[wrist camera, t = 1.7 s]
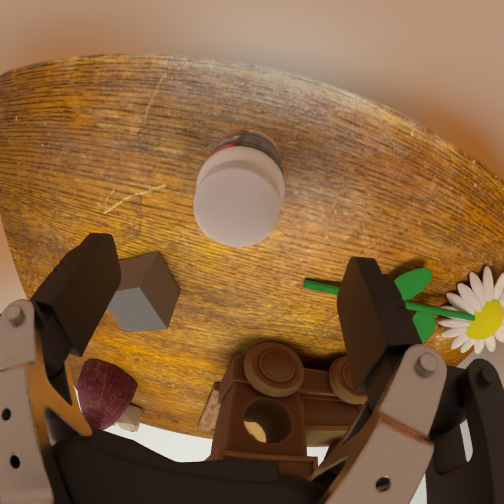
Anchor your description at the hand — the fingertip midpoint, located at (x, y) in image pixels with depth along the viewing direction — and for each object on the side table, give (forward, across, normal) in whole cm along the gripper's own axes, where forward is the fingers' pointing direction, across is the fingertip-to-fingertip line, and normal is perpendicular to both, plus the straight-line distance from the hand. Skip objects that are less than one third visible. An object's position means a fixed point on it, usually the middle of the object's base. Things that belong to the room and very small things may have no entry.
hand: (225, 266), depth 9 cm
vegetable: (+13, +22, +37) cm, 45 cm away
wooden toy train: (+13, -8, +26) cm, 30 cm away
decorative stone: (+13, +25, +52) cm, 59 cm away
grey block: (+12, +9, +12) cm, 20 cm away
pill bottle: (+13, 0, 0) cm, 13 cm away
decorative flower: (+13, -20, +12) cm, 27 cm away
